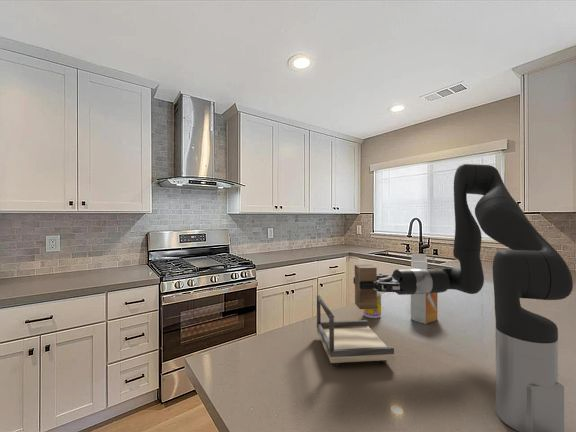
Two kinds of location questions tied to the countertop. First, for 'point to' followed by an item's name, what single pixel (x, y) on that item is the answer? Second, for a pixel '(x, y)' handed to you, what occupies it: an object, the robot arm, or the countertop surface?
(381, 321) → the countertop surface
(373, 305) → the walnut block
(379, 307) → the supplement bottle
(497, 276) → the robot arm
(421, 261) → the milk
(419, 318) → the small box
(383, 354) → the cart
